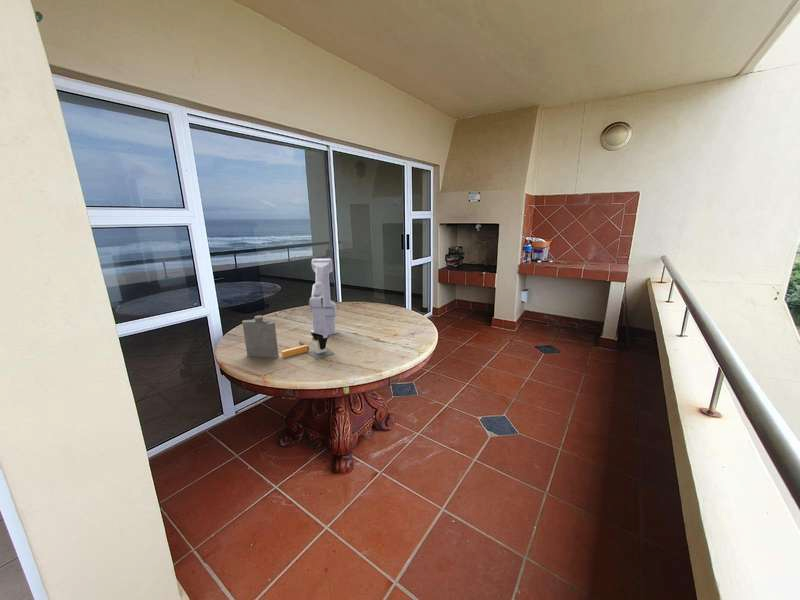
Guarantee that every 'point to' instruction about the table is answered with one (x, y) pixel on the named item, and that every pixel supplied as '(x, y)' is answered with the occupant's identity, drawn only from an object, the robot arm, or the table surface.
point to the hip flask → (260, 338)
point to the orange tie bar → (294, 351)
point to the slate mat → (321, 354)
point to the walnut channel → (304, 343)
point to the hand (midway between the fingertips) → (320, 347)
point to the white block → (318, 347)
